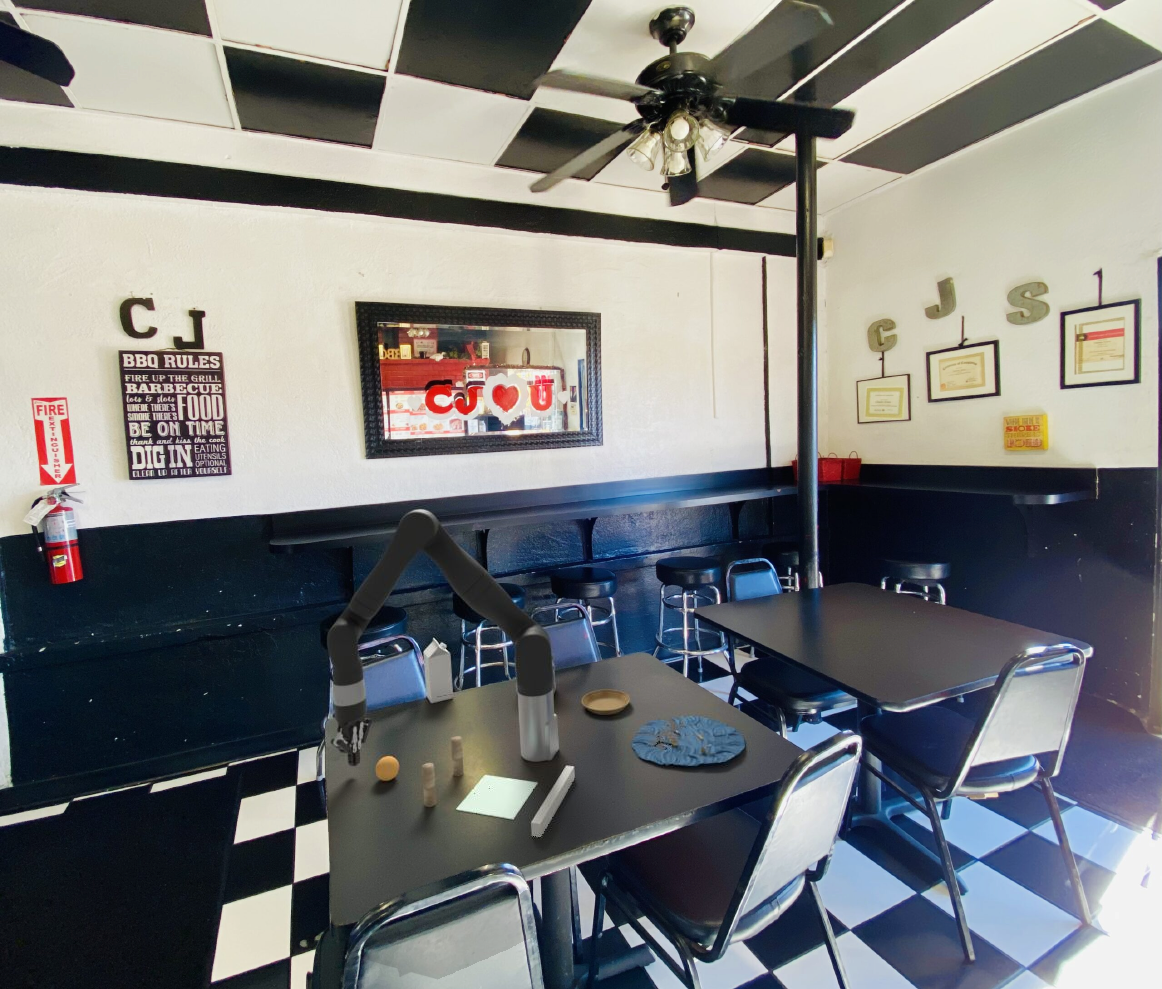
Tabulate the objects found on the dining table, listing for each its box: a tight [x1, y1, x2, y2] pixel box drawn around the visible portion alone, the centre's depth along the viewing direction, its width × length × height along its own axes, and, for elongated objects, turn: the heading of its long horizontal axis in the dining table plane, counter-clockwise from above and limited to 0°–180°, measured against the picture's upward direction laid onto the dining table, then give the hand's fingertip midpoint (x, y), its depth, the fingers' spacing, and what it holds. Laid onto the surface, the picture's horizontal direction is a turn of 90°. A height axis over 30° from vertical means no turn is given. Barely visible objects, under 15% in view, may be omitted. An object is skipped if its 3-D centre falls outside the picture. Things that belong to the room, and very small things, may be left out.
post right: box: [450, 735, 465, 777], centre depth 145 cm, size 3×3×9 cm
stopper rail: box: [530, 765, 576, 838], centre depth 131 cm, size 2×22×3 cm, turn 162°
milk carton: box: [423, 637, 454, 704], centre depth 190 cm, size 7×7×19 cm
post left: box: [421, 762, 437, 808], centre depth 133 cm, size 3×3×9 cm
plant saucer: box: [581, 689, 631, 716], centre depth 179 cm, size 15×15×3 cm
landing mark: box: [455, 774, 539, 821], centre depth 135 cm, size 14×14×1 cm
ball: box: [375, 755, 400, 782], centre depth 144 cm, size 6×6×6 cm
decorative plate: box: [631, 715, 746, 767], centre depth 155 cm, size 30×30×5 cm
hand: (354, 764), depth 147 cm, fingers closed
